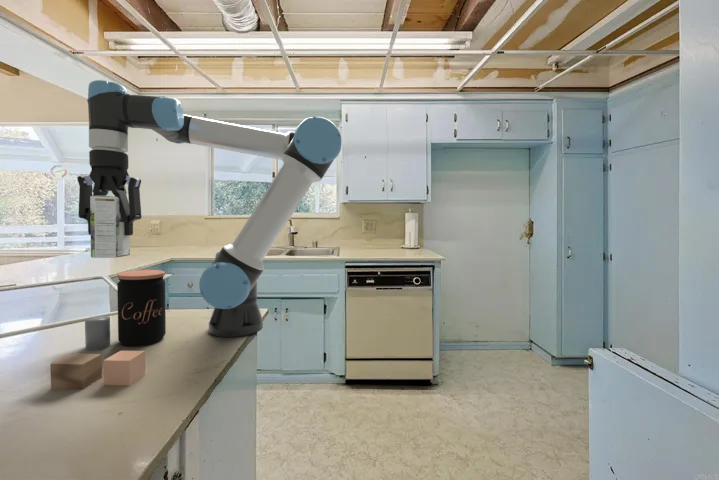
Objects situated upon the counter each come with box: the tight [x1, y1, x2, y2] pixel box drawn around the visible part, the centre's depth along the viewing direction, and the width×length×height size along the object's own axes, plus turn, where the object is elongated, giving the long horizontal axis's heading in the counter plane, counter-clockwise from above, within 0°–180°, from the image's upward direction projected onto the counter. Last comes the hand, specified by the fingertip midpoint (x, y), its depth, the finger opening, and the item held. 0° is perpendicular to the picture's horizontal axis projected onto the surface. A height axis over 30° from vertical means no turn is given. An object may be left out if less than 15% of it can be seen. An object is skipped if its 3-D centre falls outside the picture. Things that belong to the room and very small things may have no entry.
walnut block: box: [49, 353, 103, 391], centre depth 68 cm, size 6×5×5 cm
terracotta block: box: [102, 350, 146, 386], centre depth 70 cm, size 5×5×5 cm
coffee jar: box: [116, 269, 167, 348], centre depth 92 cm, size 11×11×18 cm
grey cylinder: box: [84, 315, 111, 351], centre depth 87 cm, size 5×5×7 cm
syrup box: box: [90, 195, 131, 259], centre depth 84 cm, size 6×6×14 cm
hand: (111, 248), depth 84 cm, fingers closed on syrup box, 6 cm apart
